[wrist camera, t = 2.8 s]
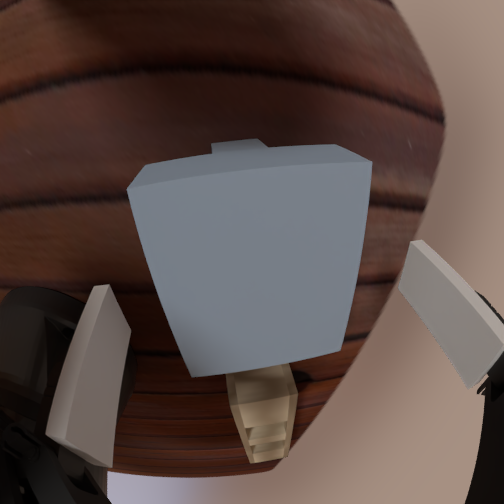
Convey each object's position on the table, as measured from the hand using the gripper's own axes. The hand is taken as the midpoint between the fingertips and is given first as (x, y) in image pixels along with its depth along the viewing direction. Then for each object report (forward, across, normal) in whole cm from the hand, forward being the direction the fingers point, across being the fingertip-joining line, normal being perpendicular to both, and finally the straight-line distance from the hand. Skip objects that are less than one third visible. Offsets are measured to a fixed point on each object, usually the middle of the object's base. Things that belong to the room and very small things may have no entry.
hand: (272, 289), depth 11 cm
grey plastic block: (+7, 0, 0) cm, 7 cm away
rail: (+7, 0, -27) cm, 28 cm away
